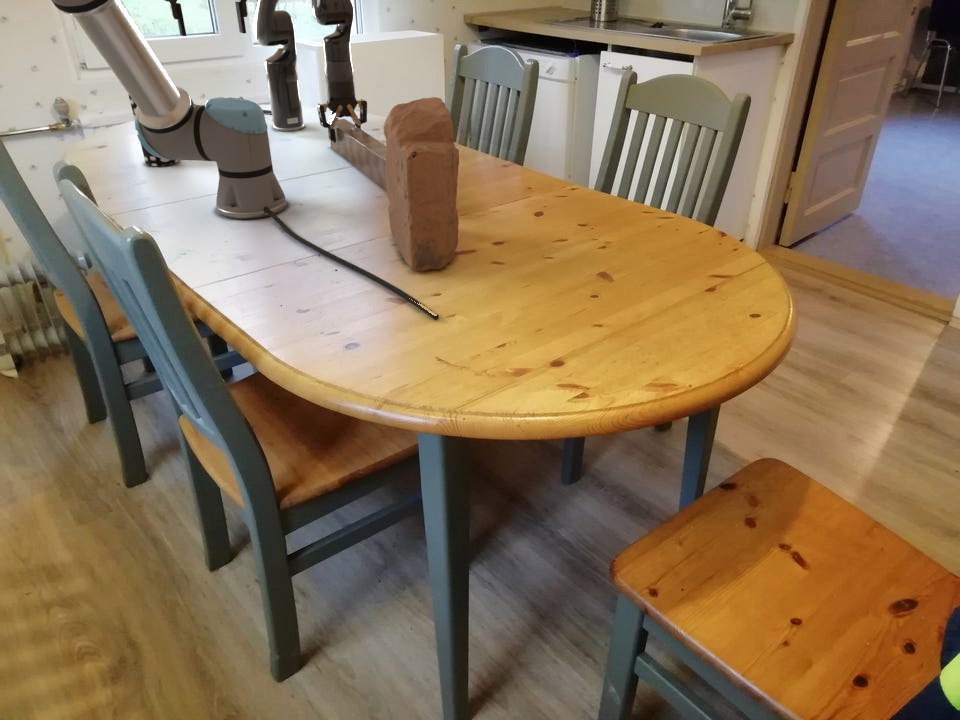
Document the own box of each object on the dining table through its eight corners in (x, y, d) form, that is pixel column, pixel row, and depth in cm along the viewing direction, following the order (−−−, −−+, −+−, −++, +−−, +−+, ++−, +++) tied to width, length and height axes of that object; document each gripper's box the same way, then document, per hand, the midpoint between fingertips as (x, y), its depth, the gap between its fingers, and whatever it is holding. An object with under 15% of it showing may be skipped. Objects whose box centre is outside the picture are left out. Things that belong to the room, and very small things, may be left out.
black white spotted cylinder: (184, 157, 190) (167, 80, 179) (169, 166, 183) (151, 87, 172) (155, 156, 190) (136, 79, 179) (139, 165, 183) (119, 86, 172)
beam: (440, 213, 156) (440, 180, 152) (420, 217, 154) (419, 184, 150) (347, 145, 202) (344, 118, 198) (330, 147, 200) (327, 120, 196)
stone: (470, 268, 131) (468, 114, 117) (412, 275, 128) (403, 119, 114) (440, 231, 149) (435, 93, 134) (388, 237, 146) (378, 97, 131)
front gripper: (247, -72, 158) (261, 30, 169) (130, -75, 146) (153, 34, 157) (258, -73, 153) (271, 33, 164) (137, -76, 141) (160, 38, 152)
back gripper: (360, 73, 191) (364, 134, 200) (309, 77, 185) (316, 140, 194) (369, 77, 186) (374, 140, 195) (318, 82, 180) (325, 147, 189)
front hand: (213, 34), depth 160 cm, fingers open, 13 cm apart
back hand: (345, 140), depth 195 cm, fingers open, 6 cm apart
